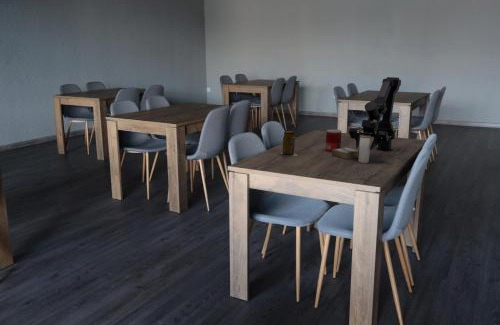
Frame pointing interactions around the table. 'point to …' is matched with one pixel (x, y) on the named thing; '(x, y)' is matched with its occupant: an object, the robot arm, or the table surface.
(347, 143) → the table surface
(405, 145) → the table surface
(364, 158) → the tumbler
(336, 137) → the canned food
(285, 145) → the condiment
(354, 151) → the plinth
